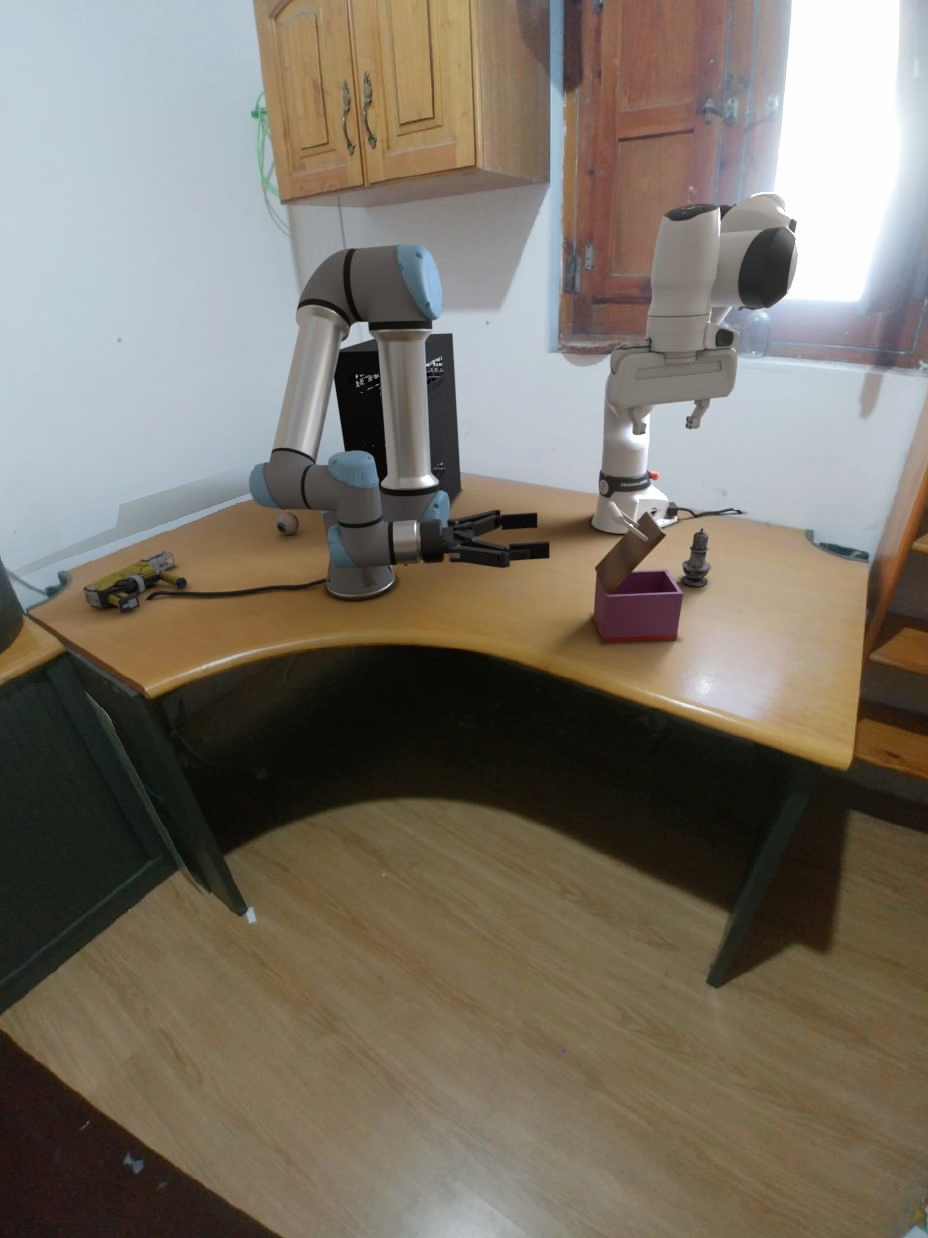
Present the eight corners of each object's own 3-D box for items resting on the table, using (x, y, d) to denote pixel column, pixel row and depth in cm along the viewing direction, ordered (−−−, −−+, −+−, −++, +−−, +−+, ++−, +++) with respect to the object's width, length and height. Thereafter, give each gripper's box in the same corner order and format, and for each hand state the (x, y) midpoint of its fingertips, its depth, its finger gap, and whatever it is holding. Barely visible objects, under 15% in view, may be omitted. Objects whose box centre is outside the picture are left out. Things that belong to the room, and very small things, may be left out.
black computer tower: (428, 534, 159) (412, 349, 137) (356, 531, 164) (329, 352, 141) (461, 489, 191) (452, 333, 168) (400, 488, 195) (384, 335, 173)
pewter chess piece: (710, 587, 126) (720, 533, 120) (681, 586, 127) (688, 532, 121) (706, 574, 131) (715, 522, 125) (678, 573, 132) (685, 522, 126)
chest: (661, 613, 118) (667, 569, 114) (676, 639, 110) (683, 593, 105) (593, 615, 119) (596, 572, 114) (603, 642, 110) (606, 596, 105)
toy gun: (211, 559, 145) (160, 548, 149) (132, 601, 125) (76, 587, 129) (214, 576, 147) (164, 565, 151) (137, 620, 127) (82, 606, 131)
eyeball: (273, 537, 164) (268, 516, 161) (287, 528, 169) (282, 508, 166) (291, 539, 161) (286, 518, 158) (305, 530, 166) (301, 510, 163)
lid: (650, 514, 108) (617, 488, 106) (666, 535, 100) (630, 507, 97) (598, 570, 114) (565, 547, 111) (609, 595, 105) (573, 570, 103)
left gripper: (423, 534, 117) (532, 527, 117) (420, 594, 95) (554, 585, 95) (420, 497, 113) (532, 490, 113) (416, 550, 91) (555, 541, 92)
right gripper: (622, 343, 85) (614, 443, 92) (749, 332, 89) (733, 428, 95) (602, 340, 90) (596, 434, 97) (723, 329, 94) (710, 420, 101)
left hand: (543, 534), depth 104 cm, fingers open, 13 cm apart
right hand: (665, 431), depth 96 cm, fingers open, 8 cm apart
